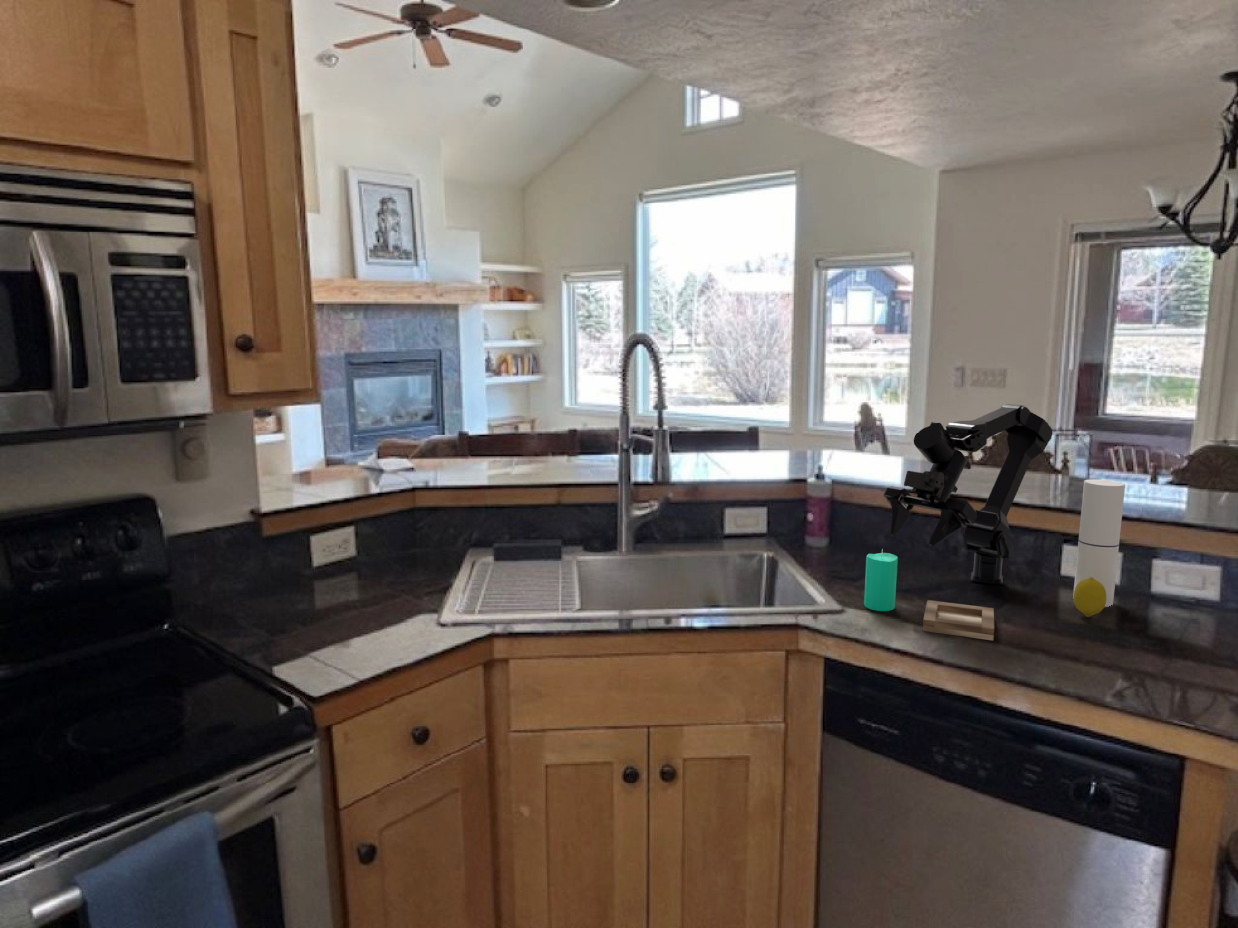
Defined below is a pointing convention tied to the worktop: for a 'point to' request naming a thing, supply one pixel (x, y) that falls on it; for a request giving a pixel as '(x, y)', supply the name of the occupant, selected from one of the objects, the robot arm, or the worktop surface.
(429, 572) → the worktop surface
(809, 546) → the worktop surface
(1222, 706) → the worktop surface
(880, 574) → the candle
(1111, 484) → the cylindrical container
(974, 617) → the candle stand
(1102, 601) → the lemon
